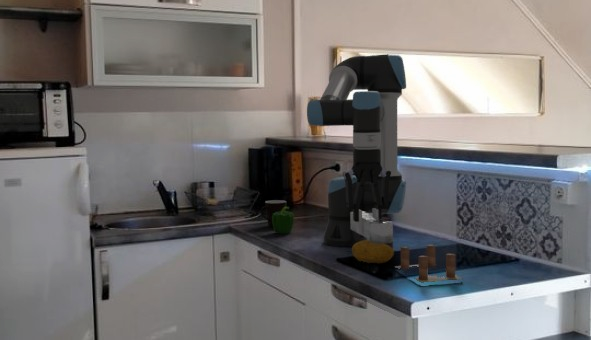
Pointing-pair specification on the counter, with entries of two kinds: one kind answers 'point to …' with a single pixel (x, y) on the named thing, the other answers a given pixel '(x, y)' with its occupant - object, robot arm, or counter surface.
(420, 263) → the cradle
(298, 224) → the counter surface
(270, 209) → the coffee mug
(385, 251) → the potato
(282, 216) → the bell pepper
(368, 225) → the grey ridged block
